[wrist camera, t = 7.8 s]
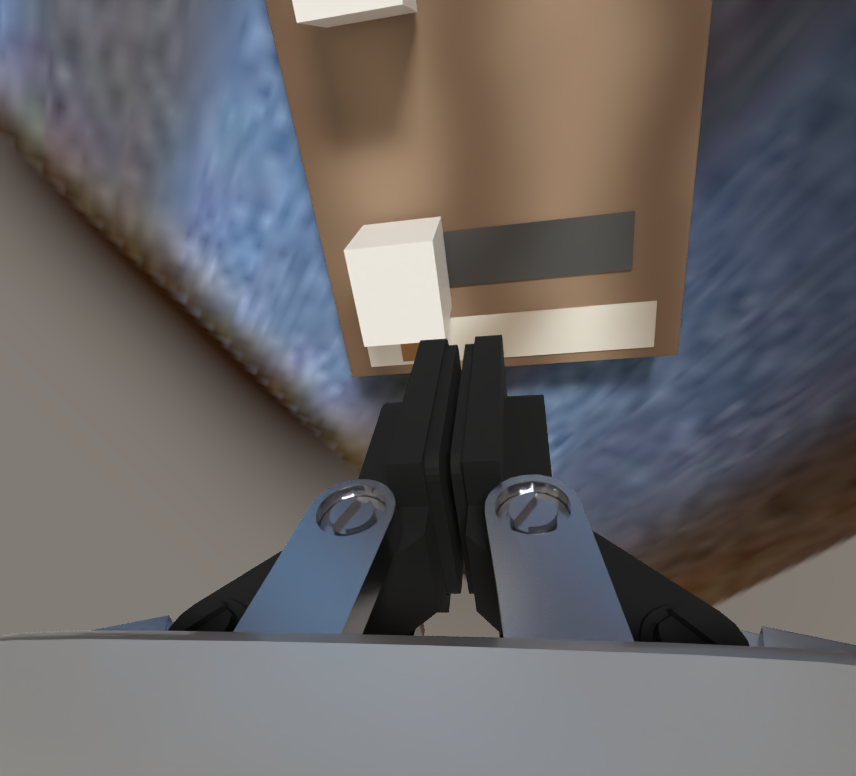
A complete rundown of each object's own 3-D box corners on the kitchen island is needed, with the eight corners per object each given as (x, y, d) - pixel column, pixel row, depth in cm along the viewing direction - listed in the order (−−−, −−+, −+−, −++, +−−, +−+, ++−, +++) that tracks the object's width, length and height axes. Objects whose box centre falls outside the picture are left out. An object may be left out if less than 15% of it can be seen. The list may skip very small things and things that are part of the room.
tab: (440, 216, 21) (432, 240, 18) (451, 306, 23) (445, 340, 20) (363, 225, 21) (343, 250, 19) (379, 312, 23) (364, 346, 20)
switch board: (715, -331, 15) (753, -398, 13) (662, 329, 25) (678, 356, 23) (241, -212, 18) (203, -252, 15) (363, 352, 28) (351, 379, 25)
